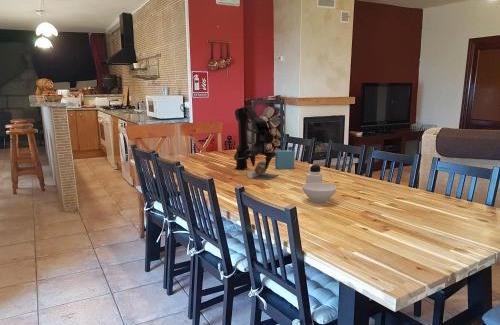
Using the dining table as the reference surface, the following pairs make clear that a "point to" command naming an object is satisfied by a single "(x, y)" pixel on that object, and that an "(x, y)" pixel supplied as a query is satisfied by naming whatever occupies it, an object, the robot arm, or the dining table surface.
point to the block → (261, 167)
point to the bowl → (319, 191)
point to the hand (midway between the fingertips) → (259, 167)
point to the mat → (265, 176)
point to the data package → (284, 159)
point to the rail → (253, 174)
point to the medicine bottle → (314, 174)
